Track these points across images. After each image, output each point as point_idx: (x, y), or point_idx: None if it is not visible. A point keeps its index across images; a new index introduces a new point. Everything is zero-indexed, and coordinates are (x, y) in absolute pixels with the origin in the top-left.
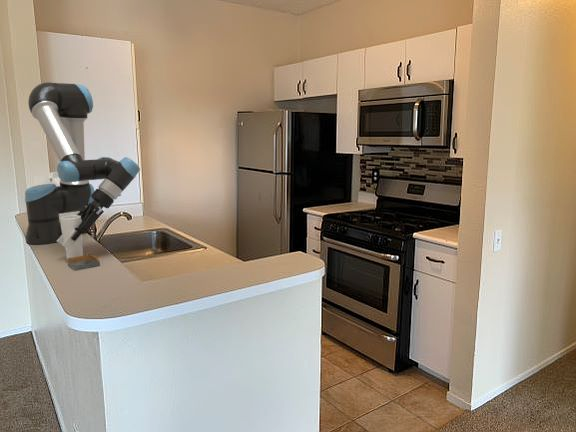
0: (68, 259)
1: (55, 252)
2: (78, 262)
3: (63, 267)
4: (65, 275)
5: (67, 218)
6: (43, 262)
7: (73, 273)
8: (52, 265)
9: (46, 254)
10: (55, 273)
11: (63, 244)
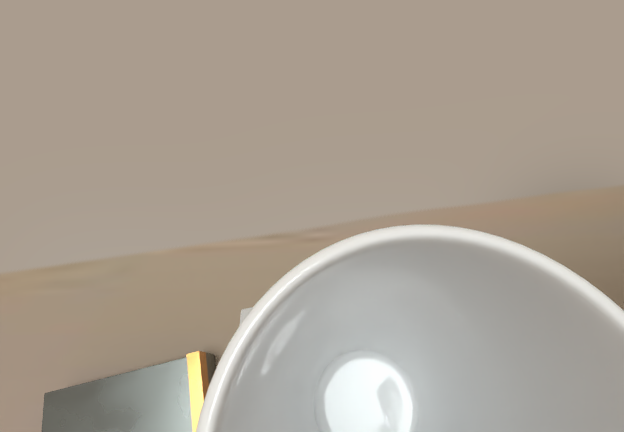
0: (190, 358)
1: (613, 272)
2: (116, 426)
3: (185, 327)
4: (3, 340)
5: (611, 373)
6: (367, 221)
7: (7, 384)
8: (270, 268)
9: (567, 225)
10: (86, 288)
11: (241, 319)
